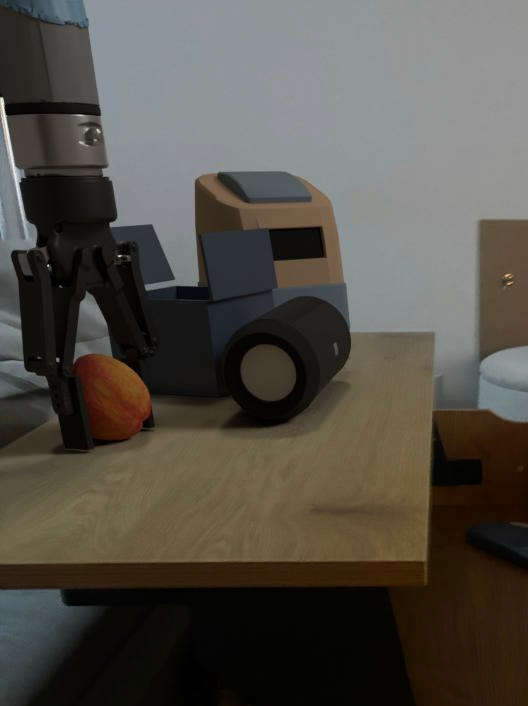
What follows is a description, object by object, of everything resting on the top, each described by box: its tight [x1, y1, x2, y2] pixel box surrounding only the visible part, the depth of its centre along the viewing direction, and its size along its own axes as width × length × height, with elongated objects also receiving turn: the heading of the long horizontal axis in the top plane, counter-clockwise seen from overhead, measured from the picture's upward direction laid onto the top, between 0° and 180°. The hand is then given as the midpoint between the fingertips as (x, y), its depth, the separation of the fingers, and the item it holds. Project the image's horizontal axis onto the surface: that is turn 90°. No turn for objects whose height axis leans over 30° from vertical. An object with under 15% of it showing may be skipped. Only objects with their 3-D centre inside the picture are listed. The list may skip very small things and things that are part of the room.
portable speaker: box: [222, 296, 352, 422], centre depth 107 cm, size 26×10×10 cm, turn 178°
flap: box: [110, 223, 176, 286], centre depth 116 cm, size 7×14×1 cm
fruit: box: [72, 353, 152, 441], centre depth 92 cm, size 8×8×8 cm
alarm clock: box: [194, 170, 351, 332], centre depth 132 cm, size 17×17×23 cm
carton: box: [106, 228, 278, 398], centre depth 116 cm, size 15×14×17 cm
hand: (111, 436), depth 94 cm, fingers open, 8 cm apart
